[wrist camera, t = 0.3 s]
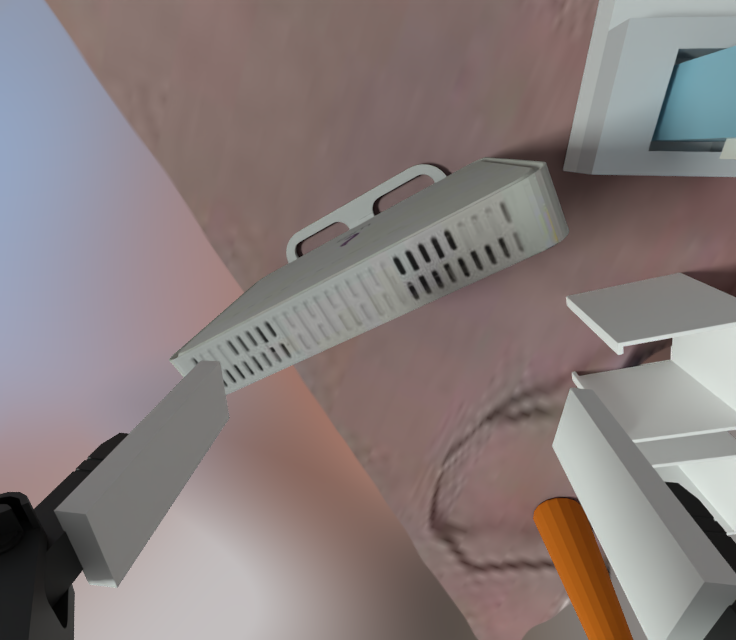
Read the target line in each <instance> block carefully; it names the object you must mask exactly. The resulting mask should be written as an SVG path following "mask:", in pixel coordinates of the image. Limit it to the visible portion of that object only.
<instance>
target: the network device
mask: <svg viewBox="0 0 736 640" xmlns="http://www.w3.org/2000/svg"><path fill="white" fill-rule="evenodd" d="M421 174H426V175H429V176H430V177H432V178H433V180H434V182H435V183H434V184H433V185H431V186H429V187H427V188H425V189H423V190H422V191H420V192H418V193H416V194H414V195H412V196H411V197H409V198H407V199H405V200H403V201H402V202H400V203H398V204H396V205H394V206H392V207H391V208H389V209H387V210H385V211H383V212H382V213H380V214H378V215H376V216H375V214H374V212H373V204H374V201H375V200H376V199H377V198H379V197H380V196H382V195H384V194H386V193H387V192H389V191H391V190H393V189H395V188H396V187H398V186H400V185H402V184H403V183H405V182H407V181H409V180H411V179H412V178H414V177H416V176H418V175H421ZM334 222H343V223H345V224H346V225H347V226H348V227H349V229H350V230H349V231H347V232H345V233H343V234H341V235H340V236H338V237H336V238H334V239H332V240H330V241H329V242H327V243H325V244H323V245H321V246H320V247H318V248H316V249H314V250H312V251H310V252H309V253H307V254H305V255H303V256H301V257H300V258H299V256H298V255H297V252H296V247H297V244H298V243H299V242H300V241H302V240H304V239H306V238H307V237H309V236H311V235H313V234H315V233H316V232H318V231H320V230H322V229H323V228H325V227H327V226H329V225H331V224H332V223H334ZM568 233H569V229H568V226H567V223H566V220H565V217H564V214H563V211H562V208H561V205H560V203H559V200H558V197H557V194H556V191H555V188H554V185H553V182H552V179H551V176H550V173H549V170H548V167H547V164H546V162H541V161H528V160H515V159H502V158H489V157H485V158H482V159H479V160H477V161H475V162H473V163H471V164H469V165H467V166H465V167H463V168H462V169H460V170H458V171H456V172H454V173H453V174H451V175H449V176H446V175H445V174H444V173H443V172H442V171H441V170H440V169H438V168H437V167H435V166H432V165H428V164H420V165H415V166H413V167H410V168H408V169H407V170H405V171H403V172H401V173H400V174H398V175H396V176H394V177H393V178H391V179H389V180H387V181H386V182H384V183H382V184H380V185H379V186H377V187H375V188H373V189H372V190H370V191H368V192H367V193H365V194H363V195H361V196H360V197H358V198H356V199H354V200H353V201H351V202H349V203H347V204H346V205H344V206H342V207H340V208H339V209H337V210H335V211H333V212H332V213H330V214H328V215H326V216H325V217H323V218H321V219H319V220H318V221H316V222H314V223H312V224H311V225H309V226H307V227H305V228H304V229H302V230H300V231H299V232H297V233H296V234H295V235H293V237H292V238H291V239H290V241H289V243H288V245H287V250H286V252H287V259H288V263H289V264H287V265H285V266H283V267H281V268H279V269H278V270H276V271H274V272H272V273H270V274H269V275H267V276H265V277H264V278H262V279H261V280H259V281H258V282H256V283H255V284H254V285H253V286H252V287H250V288H249V289H248V290H247V291H246V292H245V293H244V294H242V295H241V296H240V297H239V298H238V299H237V300H236V301H234V302H233V303H232V304H231V305H230V306H229V307H228V308H226V309H225V310H224V311H223V312H222V313H221V314H220V315H218V316H217V317H216V318H215V319H214V320H213V321H212V322H211V323H209V324H208V325H207V326H206V327H205V328H204V329H202V330H201V331H200V332H199V333H198V334H197V335H196V336H194V337H193V338H192V339H191V340H190V341H189V342H188V343H186V344H185V345H184V346H183V347H182V348H181V349H180V350H178V351H177V352H176V353H175V354H174V355H173V356H172V357H171V358H170V359H169V360H170V362H171V363H172V364H173V365H174V366H175V368H176V369H177V370H178V371H179V372H180V374H181V375H182V376H183V377H185V376H186V375H187V374H188V373H189V372H190V371H191V370H192V369H193V368H194V367H195V366H196V365H197V364H198V363H199V362H200V361H201V360H206V361H219V362H220V364H221V370H222V376H223V382H224V388H225V394H226V395H227V394H229V393H232V392H234V391H236V390H238V389H240V388H243V387H245V386H247V385H249V384H252V383H254V382H256V381H258V380H260V379H263V378H265V377H267V376H269V375H271V374H274V373H276V372H278V371H280V370H282V369H285V368H287V367H289V366H291V365H293V364H296V363H298V362H300V361H302V360H304V359H307V358H309V357H311V356H313V355H315V354H318V353H320V352H322V351H324V350H326V349H329V348H331V347H333V346H335V345H337V344H340V343H342V342H344V341H346V340H348V339H351V338H353V337H355V336H357V335H359V334H362V333H364V332H366V331H368V330H370V329H373V328H375V327H377V326H379V325H381V324H384V323H386V322H388V321H390V320H392V319H395V318H397V317H399V316H401V315H403V314H406V313H408V312H410V311H412V310H414V309H417V308H419V307H421V306H423V305H425V304H428V303H430V302H432V301H434V300H436V299H439V298H441V297H443V296H445V295H447V294H450V293H452V292H454V291H456V290H458V289H461V288H463V287H465V286H467V285H469V284H472V283H474V282H476V281H478V280H481V279H483V278H485V277H487V276H489V275H492V274H494V273H496V272H498V271H500V270H503V269H505V268H507V267H509V266H511V265H514V264H516V263H518V262H520V261H522V260H525V259H527V258H529V257H531V256H533V255H536V254H538V253H540V252H542V251H544V250H547V249H549V248H551V247H553V246H554V245H556V244H558V243H559V242H560V241H562V240H563V239H564V238H565V237H566V236H567V235H568Z"/></svg>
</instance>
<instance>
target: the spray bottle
mask: <svg viewBox="0 0 736 640" xmlns="http://www.w3.org/2000/svg"><path fill="white" fill-rule="evenodd" d="M533 519H534V522H535V524H536V526H537V528H538V530H539V532H540V535H541V537H542V539H543V541H544V543H545V546H546V548H547V550H548V552H549V554H550V556H551V559H552V561H553V563H554V565H555V567H556V570H557V572H558V574H559V576H560V578H561V580H562V583H563V585H564V587H565V589H566V591H567V593H568V596H569V598H570V600H571V602H572V604H573V607H574V609H575V611H576V613H577V615H578V617H579V620H580V622H581V624H582V626H583V628H584V630H585V633H586V635H587V637H588V639H589V640H633V638H632V635H631V633H630V630H629V627H628V625H627V622H626V619H625V617H624V614H623V612H622V609H621V606H620V603H619V601H618V598H617V596H616V593H615V590H614V588H613V585H612V582H611V580H610V577H609V574H608V572H607V569H606V566H605V564H604V561H603V558H602V556H601V553H600V550H599V548H598V545H597V542H596V540H595V537H594V534H593V532H592V529H591V526H590V524H589V521H588V518H587V516H586V513H585V511H584V509H583V507H582V506H581V505H580V504H579V503H578V502H576V501H574V500H571V499H568V498H554V499H550V500H546V501H545V502H543V503H541V504H540V505H538V507H537V508H536V509H535V511H534V517H533Z"/></svg>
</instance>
